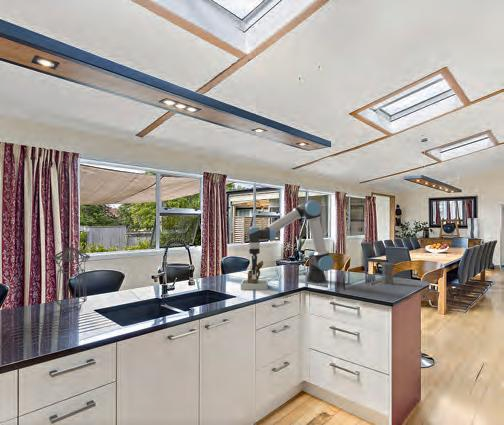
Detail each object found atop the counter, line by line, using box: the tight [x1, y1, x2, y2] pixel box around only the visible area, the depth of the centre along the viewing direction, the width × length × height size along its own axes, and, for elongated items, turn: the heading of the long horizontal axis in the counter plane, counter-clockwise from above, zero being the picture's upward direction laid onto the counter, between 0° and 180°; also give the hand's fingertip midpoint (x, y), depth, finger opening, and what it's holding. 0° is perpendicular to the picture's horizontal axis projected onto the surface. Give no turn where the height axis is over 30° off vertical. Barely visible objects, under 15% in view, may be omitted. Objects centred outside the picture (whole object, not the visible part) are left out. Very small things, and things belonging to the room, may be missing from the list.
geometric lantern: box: [50, 246, 91, 312], centre depth 179 cm, size 16×16×35 cm
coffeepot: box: [375, 259, 397, 285], centre depth 247 cm, size 15×9×18 cm, turn 44°
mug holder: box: [240, 279, 269, 291], centre depth 234 cm, size 19×14×4 cm
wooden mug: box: [246, 260, 264, 284], centre depth 235 cm, size 9×14×18 cm, turn 121°
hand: (254, 277), depth 234 cm, fingers open, 13 cm apart
